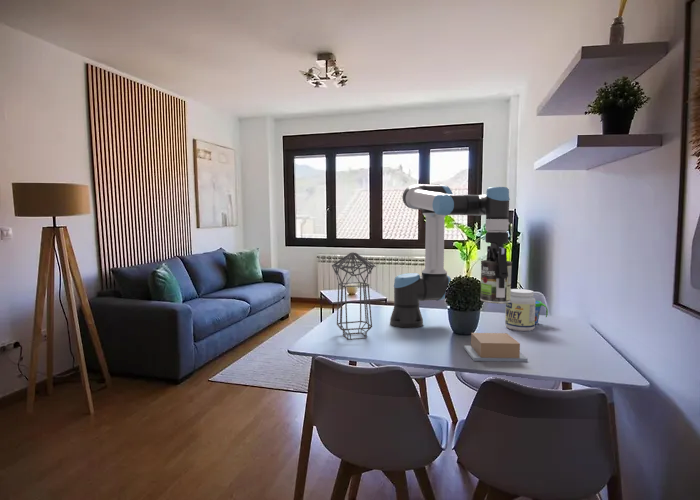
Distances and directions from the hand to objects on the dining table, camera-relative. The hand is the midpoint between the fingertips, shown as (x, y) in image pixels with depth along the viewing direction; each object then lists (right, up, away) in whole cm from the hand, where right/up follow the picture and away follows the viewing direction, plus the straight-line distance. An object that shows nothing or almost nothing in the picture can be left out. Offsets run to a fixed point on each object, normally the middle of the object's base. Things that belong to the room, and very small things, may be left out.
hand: (495, 294), depth 142 cm
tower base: (0, -21, +1) cm, 22 cm away
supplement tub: (+25, -19, +38) cm, 49 cm away
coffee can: (0, -2, 0) cm, 2 cm away
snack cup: (+33, -19, +48) cm, 61 cm away
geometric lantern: (-50, -20, +26) cm, 60 cm away
